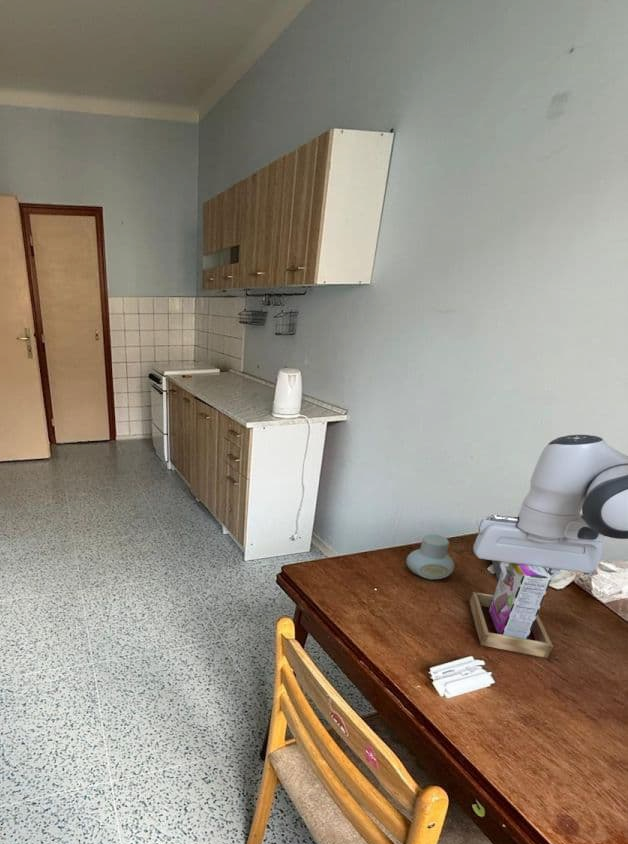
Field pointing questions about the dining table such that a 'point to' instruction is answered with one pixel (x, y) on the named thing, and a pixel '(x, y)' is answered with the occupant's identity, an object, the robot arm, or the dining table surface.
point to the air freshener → (431, 558)
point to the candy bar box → (519, 600)
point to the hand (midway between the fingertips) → (522, 582)
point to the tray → (508, 642)
